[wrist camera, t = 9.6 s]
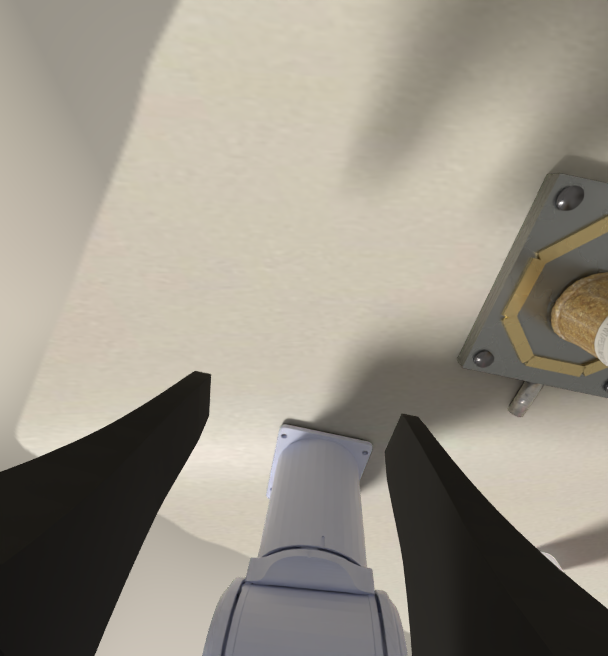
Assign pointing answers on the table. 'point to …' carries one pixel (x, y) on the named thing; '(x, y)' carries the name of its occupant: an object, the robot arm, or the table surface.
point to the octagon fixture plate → (544, 294)
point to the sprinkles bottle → (584, 315)
